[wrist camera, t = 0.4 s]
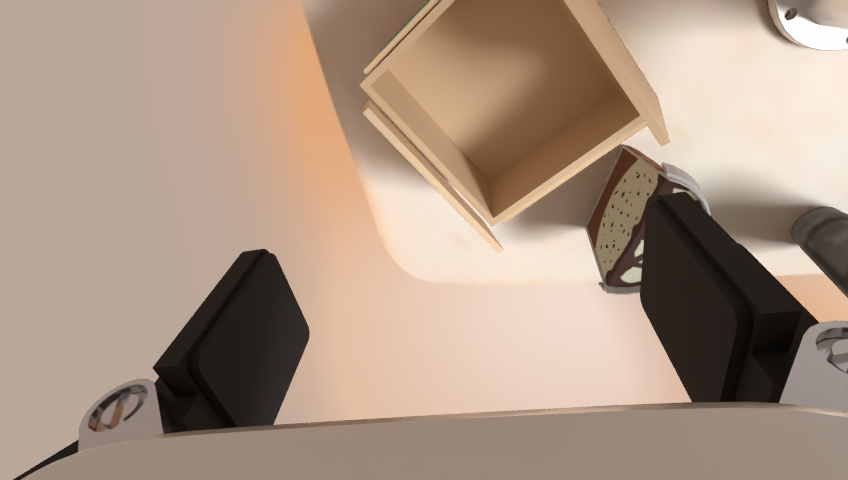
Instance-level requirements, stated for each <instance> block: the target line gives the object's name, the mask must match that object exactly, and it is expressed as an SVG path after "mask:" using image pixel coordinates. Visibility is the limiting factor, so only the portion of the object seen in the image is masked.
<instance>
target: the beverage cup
mask: <svg viewBox="0 0 848 480" xmlns="http://www.w3.org/2000/svg"><path fill="white" fill-rule="evenodd" d="M791 234H792V237H793V239H794V240H795V241H796V242H797V243H798V245H799V246H800V248H801V249H802V250H803V251H804V252H805V253H806V254H807V255H808V256H809V257H810V258H811V259H812V261H813V262H814V263H815V264H816V265H817V266H818V267H819V268H820V269H821V270H822V271H823V272H824V273H825V274H826V275H827V276H828V278H829V279H830V280H831V281H832V282H833V283H834V284H835V285H836V286H837V287H838V288H839V289H840V290H841V291H842V292H843V293H844V294H845V295H846V297H847V298H848V214H846V213H843V212H841V211H839V210H837V209H835V208H832V207H823V208H817V209H814V210H812V211H809V212H808V213H806V214H805V215H803V216H801V217H800V218H799V219H798V220H797V221H796V223H795V225H794V226H793V228H792V233H791Z"/></svg>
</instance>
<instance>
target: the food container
mask: <svg viewBox="0 0 848 480" xmlns="http://www.w3.org/2000/svg"><path fill="white" fill-rule="evenodd" d="M662 166H663V167H661V166H660V165H658V164H657V163H656V162H654V161H653V160H651V159H650V158H648V157H647V156H645V155H644V154H643V153H641V152H640V151H638V150H636V149H634V148H632V147H630V146H626V145H622V147H621V150H620V152H619V154H618V156H617V158H616V160H615V163H614V165H613V167H612V169H611V171H610V173H609V176H608V178H607V180H606V182H605V184H604V186H603V189H602V191H601V193H600V195H599V197H598V199H597V202H596V204H595V206H594V208H593V210H592V212H591V215H590V217H589V219H588V221H587V223H586V225H585V228H586V231H587V235H588V238H589V241H590V244H591V247H592V250H593V253H594V256H595V259H596V263H597V266H598V269H599V272H600V275H601V278H602V281H603V283H602V282H599V285H600V286H601V288H602V289H603V290H604V291H606V292H607V293H609V294H616V295H628V294H637V293H640V286H641V273H642V259H643V246H644V232H645V219H646V207H647V204H648V203H649V202H654V201H655V198H656V196H657V195H662V194H669V193H677V192H687V193H688V194H689V195H690V196H691V197H692V198H693V199H694V200H695V201H696V202H697V203H698V204H699V205H700V206H701V207H702V208H703V209H704V210H705V211H706V212H707V213H708V214H709V215H710V210H709V206H708V203H707V201H706V198H705V196H704V194H703V192H702V190H701V188H700V187H699V185H698V184H697V182H696V181H695V180H694V179H693V178H692V177H691V176H690V175H688V174H687V173H686V172H684V171H683V170H681V169H679V168H677V167H675V166H673V165H670V164H666V163H663V162H662ZM710 216H711V215H710Z"/></svg>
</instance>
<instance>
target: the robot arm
mask: <svg viewBox="0 0 848 480" xmlns="http://www.w3.org/2000/svg"><path fill="white" fill-rule="evenodd" d="M768 6H769V12H770V14H771V17H772V19H773V22H774V24H775V26H776V27H777V28H778V30H779V31H780V32H781V33H782V35H784V36H785V37H786V38H788V39H789V40H790V41H792V42H793V43H796V44H798V45H801V46H804V47H807V48H812V49H816V50H827V51H837V50H845V49H848V0H768ZM786 12H787V13H786ZM785 13H786V15H785ZM784 15H785V16H784ZM640 298H641V303H642V306H643V309H644V311H645V312H646V314H647V317H648V318H649V320H650V322H651V324H652V326H653V328H654V330H655V332H656V334H657V336H658V338H659V340H660V341H661V343H662V345H663V347H664V349H665V351H666V353H667V355H668V357H669V359H670V361H671V362H672V364H673V366H674V368H675V370H676V372H677V374H678V376H679V378H680V380H681V382H682V384H683V385H684V387H685V389H686V391H687V393H688V395H689V397H690V399H691V401H692V403H691V402H690V403H665V404H639V405H612V406H594V407H575V408H555V409H537V410H519V411H500V412H480V413H463V414H445V415H428V416H411V417H394V418H378V419H362V420H344V421H328V422H314V423H297V424H283V425H273V424H274V421H275V419H276V417H277V414H278V412H279V410H280V407H281V405H282V402H283V400H284V398H285V395H286V392H287V390H288V388H289V386H290V383H291V381H292V378H293V376H294V373H295V371H296V369H297V366H298V364H299V362H300V359H301V357H302V354H303V352H304V350H305V347H306V345H307V342H308V340H309V327H308V325H307V322H306V320H305V318H304V316H303V314H302V312H301V309H300V307H299V305H298V303H297V301H296V299H295V296H294V294H293V292H292V290H291V288H290V286H289V284H288V281H287V279H286V277H285V275H284V273H283V271H282V268H281V266H280V264H279V262H278V260H277V258H276V256H275V255H274V254H272V253H269V252H268V251H267V250H265V249H260V250H253V251H245V252H243V253H241V254H240V255H239V257H238V258H237V260H236V261H235V262H234V263H233V265H232V266H231V267H230V268H229V270H228V271H227V272H226V274H225V275H224V276H223V277H222V279H221V280H220V281H219V283H218V284H217V285H216V286H215V288H214V289H213V290H212V292H211V293H210V294H209V295H208V297H207V298H206V299H205V301H204V302H203V303H202V305H201V306H200V307H199V308H198V310H197V311H196V312H195V314H194V315H193V316H192V317H191V319H190V320H189V321H188V323H187V324H186V325H185V326H184V328H183V329H182V331H181V332H180V333H179V334H178V336H177V337H176V338H175V339H174V341H173V342H172V343H171V345H170V346H169V347H168V348H167V350H166V351H165V352H164V354H163V355H162V356H161V357H160V359H159V360H158V361H157V363H156V364H155V365H154V366H153V369H154V370H155V372H156V373H157V374H158V375H159V378H158V379H157V381H156V382H155V383H153V381H150V380H148V379H137V380H133V381H129V382H127V383H124V384H122V385H120V386H118V387H116V388H114V389H113V390H111V391H110V392H108V393H106V394H105V395H104V396H103V397H101V398H100V399H99V400H98V401H97V402H96V403H95V404H94V405H93V406H92V407H91V408H90V409H89V410H88V411H87V413H86V414H85V416H84V418H83V419H82V421H81V424H80V428H79V440H77V441H76V442H74V443H72V444H71V445H69V446H67V447H66V448H64V449H62V450H61V451H59V452H58V453H56V454H54V455H53V456H51V457H49V458H48V459H46V460H44V461H43V462H41V463H40V464H38V465H36V466H35V467H33V468H31V469H30V470H28V471H27V472H25V473H24V474H22V475H20V476H18V477H17V478H15V479H13V480H848V321H829V322H822V323H819V322H818V321H817V320H816V319H815V318H814V317H813V316H812V315H811V314H810V313H809V312H808V311H807V310H806V309H805V308H804V307H803V306H802V305H801V304H800V303H799V302H798V301H797V300H796V299H795V298H794V297H793V296H792V295H791V294H790V292H789V291H787V289H786V288H785V287H783V285H782V284H780V282H779V281H778V280H777V279H775V277H774V276H773V275H772V274H771V273H770V272H769V271H768V270H767V269H766V268H765V267H764V266H763V265H762V264H761V263H760V262H759V261H758V260H757V259H756V258H755V257H754V256H753V255H752V254H751V253H750V252H749V251H748V250H747V249H746V248H745V247H743V246H742V245H741V244H739V243H736V242H735V241H734V240H733V239H732V238H731V237H730V236H729V234H728V233H727V232H726V231H725V230H724V229H723V228H722V227H721V226H720V225H719V224H718V223H717V222H716V221H715V220H714V219H713V218H712V217H711V216H710V215H709V214H708V213H707V212H706V211H705V210H704V209H703V208H702V207H701V206H700V205H699V204H698V203H697V202H696V201H695V200H694V199H693V198H692V197H691V196H690V195H689V194H688V193H687V192H677V193H669V194H662V195H657V196H656V198H655V201H654V202H649V203H648V204H647V207H646V219H645V232H644V246H643V259H642V273H641V286H640Z"/></svg>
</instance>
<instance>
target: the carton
mask: <svg viewBox="0 0 848 480" xmlns="http://www.w3.org/2000/svg"><path fill="white" fill-rule="evenodd" d="M438 1H439V0H428V1H427V3H426V4H425V5H424V6H423V7H422V8H421V9H420V10H419V11H418V12H417V13H416V14H415V15H414V16H413V17H412V18H411V19H410V20H409V21H408V22H407V23H406V24H405V26H404V27H403V28H402V29H401V30H400V31H399V32H398V33H397V34H396V35H395V36H394V37H393V38H392V39H391V40H390V41H389V42H388V43H387V44H386V45H385V46H384V47H383V49H382V50H381V53H380V54H379V55H378V56H377V57H376V58H375V59H374V60H373V61H372V62H371V63H370V64H369V65H368V66H367V67H366V68H365V69H364V70H363V72H364V73H365V74H366V75H368V73H369V72H370V71H371V70H372V69H373V68H374V67H375V66H376V65H377V64H378V65H377V66H376V67H375V68H374V69H373V70H372V71H371V72H370V74H369V75H368V76H367V77H366V78H365V79H364V80H363V81H362V83H361V84H360V85H359V86H360V87H361V88H362V89H363V90H364V91H365V92H366V93H367V94H368V95H369V96H370V97H371V99H372V100H373V101H374V102H375V103H376V104H377V105H378V106H379V107H380V108H381V109H382V110H383V111H384V112H385V113H386V114H387V116H388V117H389V118H390V119H391V120H392V121H393V122H394V123H395V124H396V125H397V126H398V127H399V128H400V129H401V130H402V131H403V133H404V134H405V135H406V136H407V137H408V138H409V139H410V140H411V141H412V142H413V143H414V144H415V145H416V146H417V147H418V148H419V150H420V151H421V152H422V153H423V154H424V155H425V156H426V157H427V158H428V159H429V160H430V161H431V162H432V163H433V164H434V165H435V167H436V168H437V169H438V170H439V171H440V172H441V173H442V174H443V175H444V176H445V177H446V178H447V179H448V180H449V181H450V183H451V184H452V185H453V186H454V187H455V188H456V189H457V190H458V191H459V192H460V193H461V194H462V195H463V196H464V197H465V198H466V200H467V201H468V202H469V203H470V204H471V205H472V206H473V207H474V208H475V209H476V210H477V211H478V212H479V213H480V214H481V215H482V217H483V218H484V219H485V220H486V221H487V222H488V223H489V224H490V225H491V226H494V225H495V224H497V223H498V222H500V221H502V222H503V223H505V222H507V221H508V220H510V219H511V218H513V217H514V216H516V215H517V214H519V213H520V212H521V211H523V210H524V209H526V208H527V207H529V206H530V205H532V204H533V203H535V202H536V201H538V200H539V199H540V198H542V197H543V196H545V195H546V194H548V193H549V192H551V191H552V190H554V189H555V188H557V187H558V186H559V185H561V184H562V183H564V182H565V181H567V180H568V179H570V178H571V177H573V176H574V175H575V174H577V173H578V172H580V171H581V170H583V169H584V168H586V167H587V166H589V165H590V164H592V163H593V162H594V161H596V160H597V159H599V158H600V157H602V156H603V155H605V154H606V153H608V152H609V151H611V150H612V149H613V148H615V147H616V146H618V145H619V144H621V143H622V142H624V141H625V140H627V139H628V138H629V137H631V136H632V135H634V134H635V133H637V132H638V131H640V130H641V129H643V128H644V127H646V124H645V123H644V120H643V118H642V117H641V115H640V114H639V112H638V111H637V109H636V108H635V106H634V105H633V103H632V102H631V100H630V99H629V97H628V96H627V94H626V93H625V91H624V90H623V88H622V87H621V85H620V84H619V82H618V81H617V79H616V78H615V76H614V75H613V73H612V72H611V70H610V69H609V67H608V66H607V64H606V63H605V61H604V60H603V58H602V57H601V55H600V54H599V52H598V51H597V49H596V48H595V46H594V45H593V43H592V42H591V40H590V39H589V37H588V36H587V34H586V33H585V31H584V30H583V28H582V27H581V25H580V24H579V22H578V21H577V19H576V18H575V16H574V15H573V13H572V12H571V10H570V9H569V7H568V6H567V4H566V3H565V1H564V0H440V1H439V2H438ZM437 2H438V3H437ZM436 3H437V4H436ZM435 4H436V5H435ZM434 5H435V6H434ZM433 6H434V7H433ZM432 7H433V8H432ZM410 30H411V31H410ZM409 31H410V32H409ZM408 32H409V33H408ZM407 33H408V34H407ZM406 34H407V35H406ZM405 35H406V36H405ZM404 36H405V37H404ZM403 37H404V38H403ZM402 38H403V39H402ZM401 39H402V40H401ZM400 40H401V41H400Z"/></svg>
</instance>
